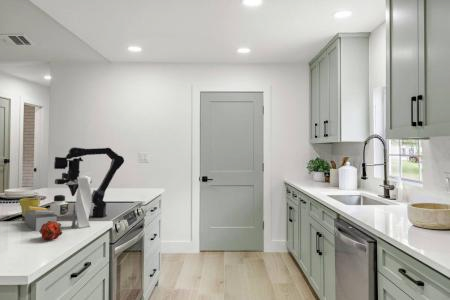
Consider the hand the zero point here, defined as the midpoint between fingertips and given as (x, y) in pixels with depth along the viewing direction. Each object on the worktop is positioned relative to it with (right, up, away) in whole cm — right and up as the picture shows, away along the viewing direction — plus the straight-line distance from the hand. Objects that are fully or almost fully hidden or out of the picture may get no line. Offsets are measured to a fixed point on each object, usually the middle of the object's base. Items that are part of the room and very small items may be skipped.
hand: (72, 196), depth 189 cm
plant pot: (-28, -13, +4) cm, 31 cm away
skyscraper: (+14, -13, -19) cm, 27 cm away
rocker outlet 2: (-3, -5, -24) cm, 25 cm away
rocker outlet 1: (-12, -5, -15) cm, 20 cm away
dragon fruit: (+11, -13, -44) cm, 47 cm away
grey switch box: (-8, -13, -20) cm, 25 cm away
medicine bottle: (-13, -13, +9) cm, 20 cm away
